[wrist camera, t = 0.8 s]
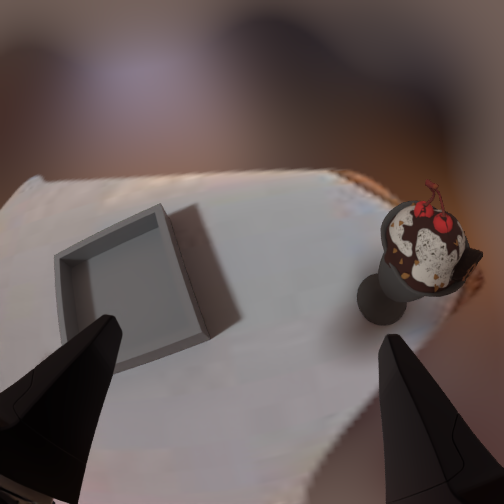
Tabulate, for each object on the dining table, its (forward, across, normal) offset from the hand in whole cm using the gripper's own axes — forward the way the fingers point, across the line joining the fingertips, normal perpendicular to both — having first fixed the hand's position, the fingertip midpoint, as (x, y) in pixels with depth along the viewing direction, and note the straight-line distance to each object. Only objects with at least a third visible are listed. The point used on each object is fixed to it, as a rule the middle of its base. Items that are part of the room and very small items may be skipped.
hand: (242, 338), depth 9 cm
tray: (+12, +14, +11) cm, 22 cm away
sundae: (+13, -10, +11) cm, 20 cm away
